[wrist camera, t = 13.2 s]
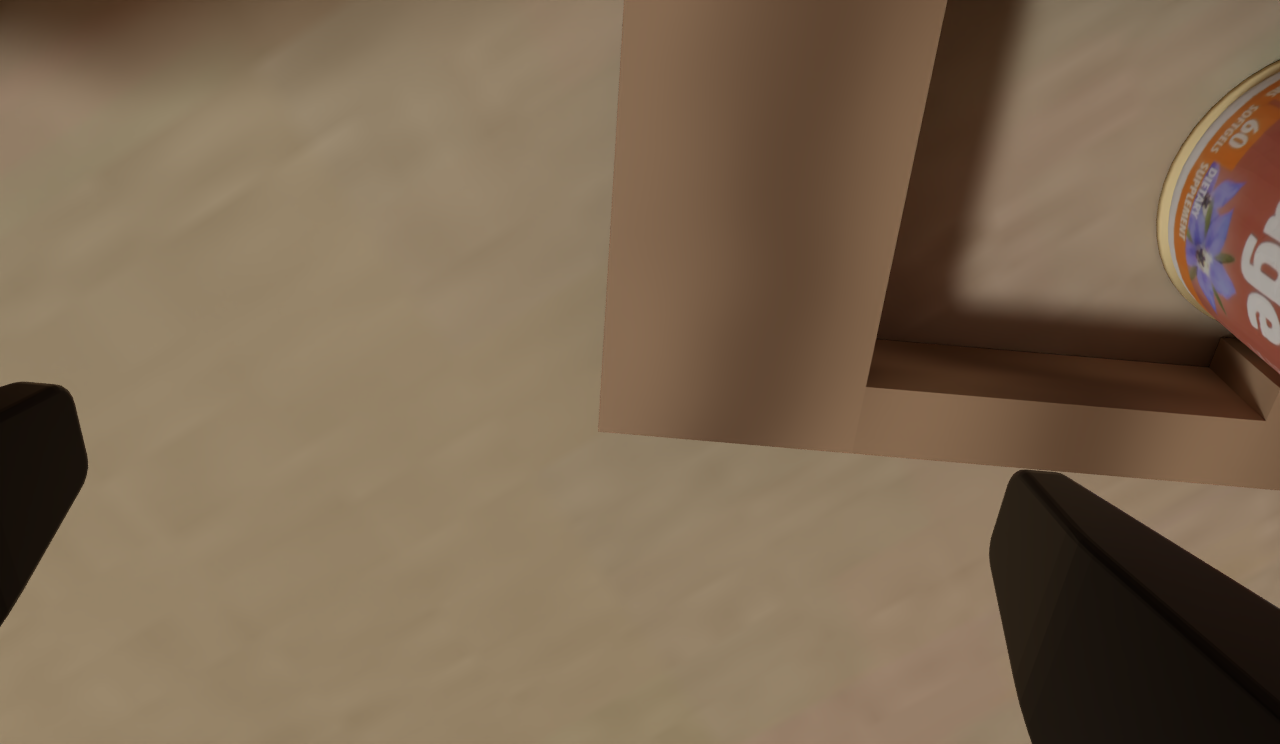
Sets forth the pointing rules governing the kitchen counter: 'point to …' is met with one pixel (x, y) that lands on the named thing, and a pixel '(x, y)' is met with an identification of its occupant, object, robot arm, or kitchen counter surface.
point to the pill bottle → (1234, 220)
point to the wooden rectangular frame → (853, 267)
